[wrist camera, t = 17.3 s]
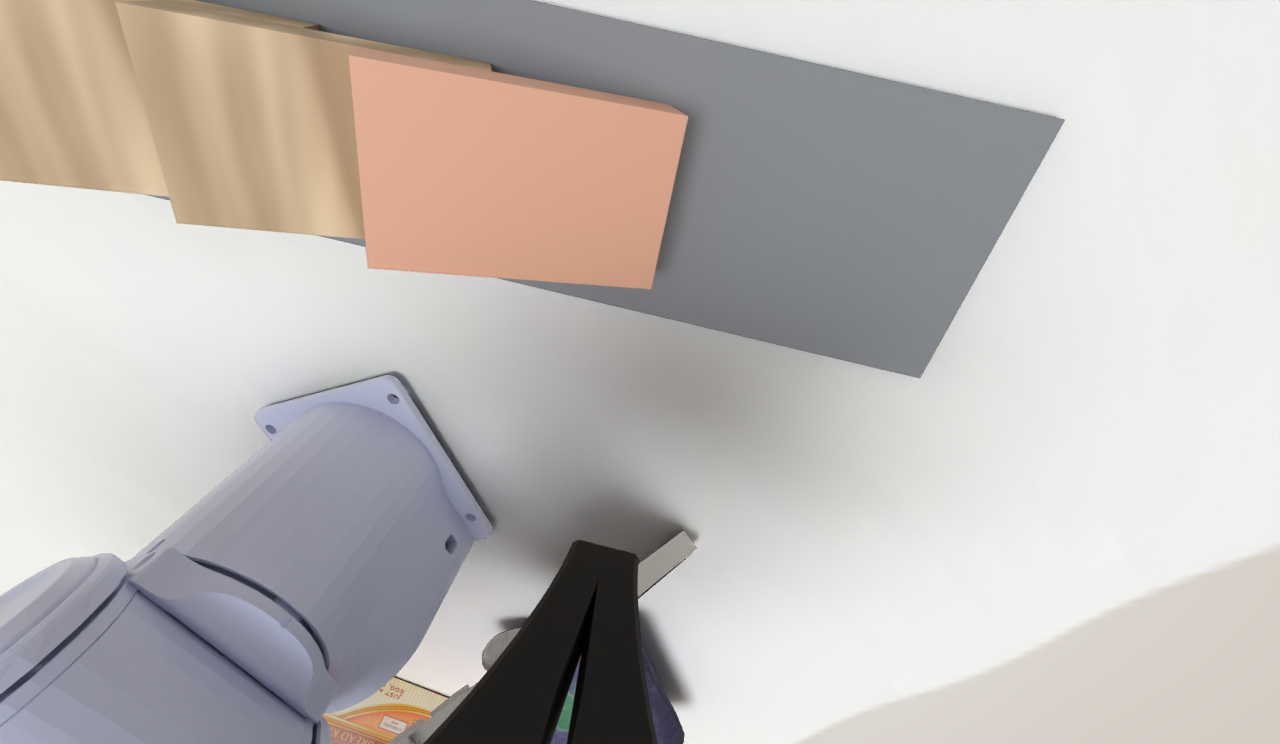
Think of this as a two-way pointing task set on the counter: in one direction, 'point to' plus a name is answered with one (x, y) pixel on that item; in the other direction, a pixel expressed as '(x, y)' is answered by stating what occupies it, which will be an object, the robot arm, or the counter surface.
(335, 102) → the domino
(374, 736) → the coffeecake box
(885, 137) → the mat
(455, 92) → the domino
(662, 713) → the navy pouch
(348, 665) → the robot arm
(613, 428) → the counter surface
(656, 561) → the smartphone
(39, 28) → the domino
